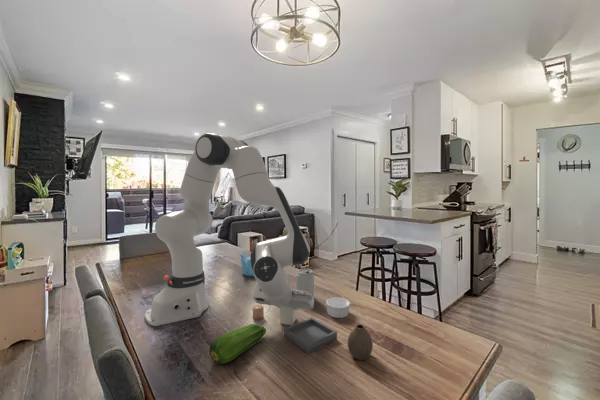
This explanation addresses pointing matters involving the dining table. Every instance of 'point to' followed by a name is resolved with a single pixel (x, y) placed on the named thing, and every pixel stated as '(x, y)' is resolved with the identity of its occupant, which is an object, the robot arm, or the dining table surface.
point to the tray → (310, 335)
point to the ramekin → (338, 307)
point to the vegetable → (235, 343)
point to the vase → (360, 343)
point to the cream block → (287, 315)
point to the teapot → (246, 266)
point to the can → (305, 281)
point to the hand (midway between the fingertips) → (288, 307)
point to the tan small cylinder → (258, 312)
